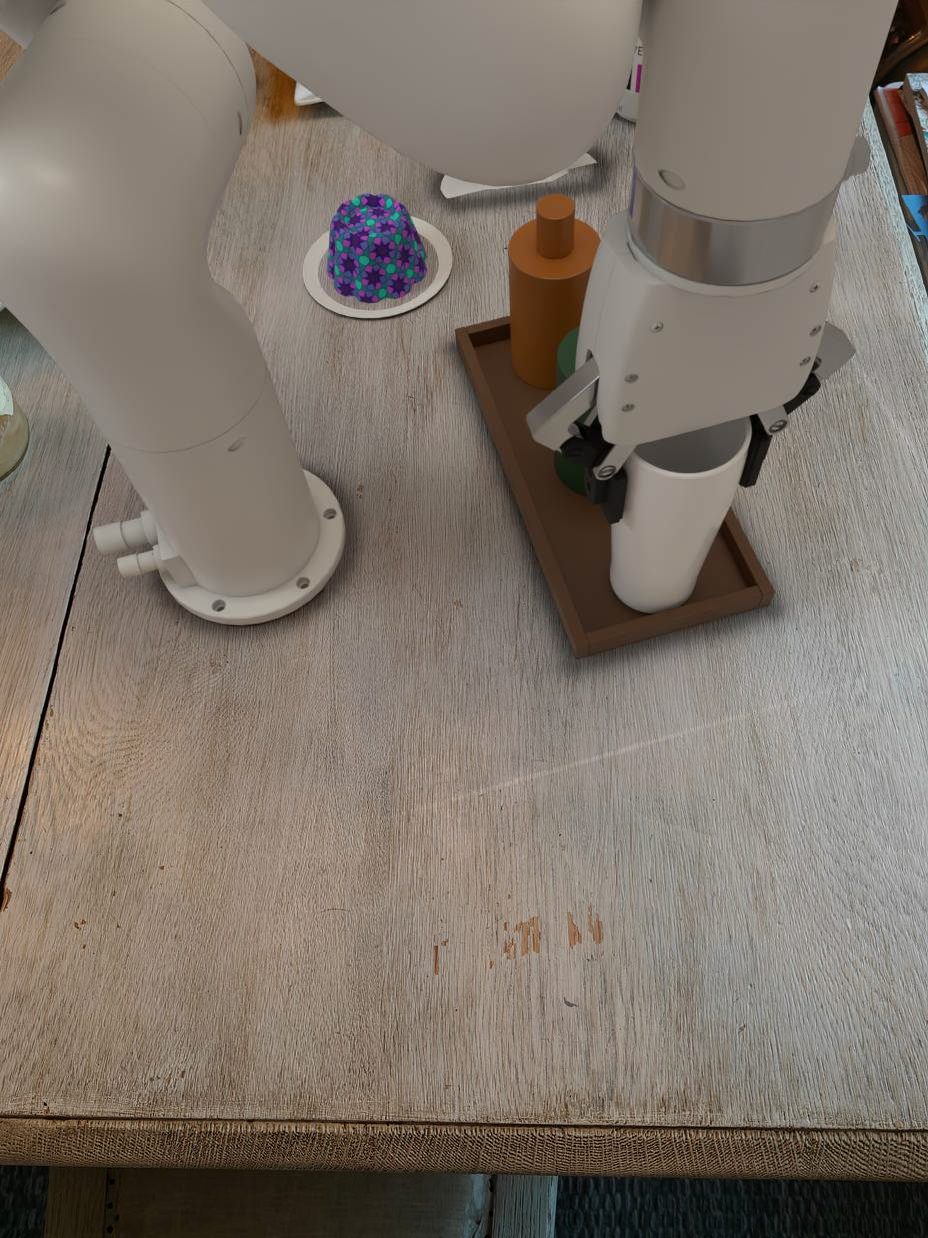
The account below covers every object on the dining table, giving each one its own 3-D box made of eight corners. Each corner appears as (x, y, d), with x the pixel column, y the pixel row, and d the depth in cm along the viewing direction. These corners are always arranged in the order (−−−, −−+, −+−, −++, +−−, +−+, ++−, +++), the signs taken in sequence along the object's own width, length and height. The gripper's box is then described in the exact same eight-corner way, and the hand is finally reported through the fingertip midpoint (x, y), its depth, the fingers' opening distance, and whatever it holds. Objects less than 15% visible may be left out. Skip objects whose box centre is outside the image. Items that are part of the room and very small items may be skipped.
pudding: (476, 295, 74) (472, 239, 70) (330, 344, 73) (316, 290, 68) (422, 204, 80) (415, 146, 76) (286, 247, 79) (271, 191, 74)
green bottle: (570, 507, 64) (577, 367, 52) (542, 439, 66) (544, 293, 55) (655, 484, 64) (681, 340, 53) (624, 418, 67) (642, 268, 56)
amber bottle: (525, 398, 68) (523, 248, 57) (501, 340, 71) (494, 187, 60) (605, 377, 69) (618, 225, 57) (578, 320, 72) (585, 165, 60)
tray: (575, 662, 58) (576, 647, 57) (456, 348, 72) (454, 328, 70) (768, 608, 59) (775, 591, 58) (615, 308, 73) (617, 287, 71)
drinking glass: (697, 533, 62) (741, 367, 49) (714, 624, 59) (766, 473, 45) (592, 539, 62) (608, 377, 49) (603, 631, 59) (623, 483, 46)
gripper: (894, 90, 39) (791, 395, 54) (481, 189, 37) (497, 472, 53) (994, 206, 35) (853, 497, 50) (540, 321, 34) (539, 583, 49)
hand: (671, 483), depth 51 cm, fingers closed on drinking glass, 6 cm apart
